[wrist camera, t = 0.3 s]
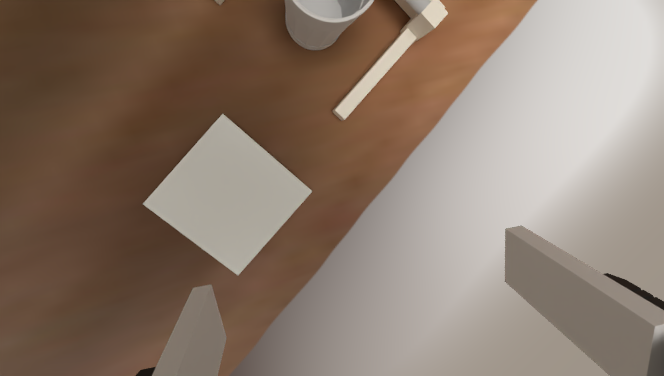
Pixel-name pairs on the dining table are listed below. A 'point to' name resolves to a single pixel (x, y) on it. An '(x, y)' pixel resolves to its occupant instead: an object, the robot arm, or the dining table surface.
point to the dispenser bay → (393, 48)
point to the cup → (321, 20)
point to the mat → (228, 195)
